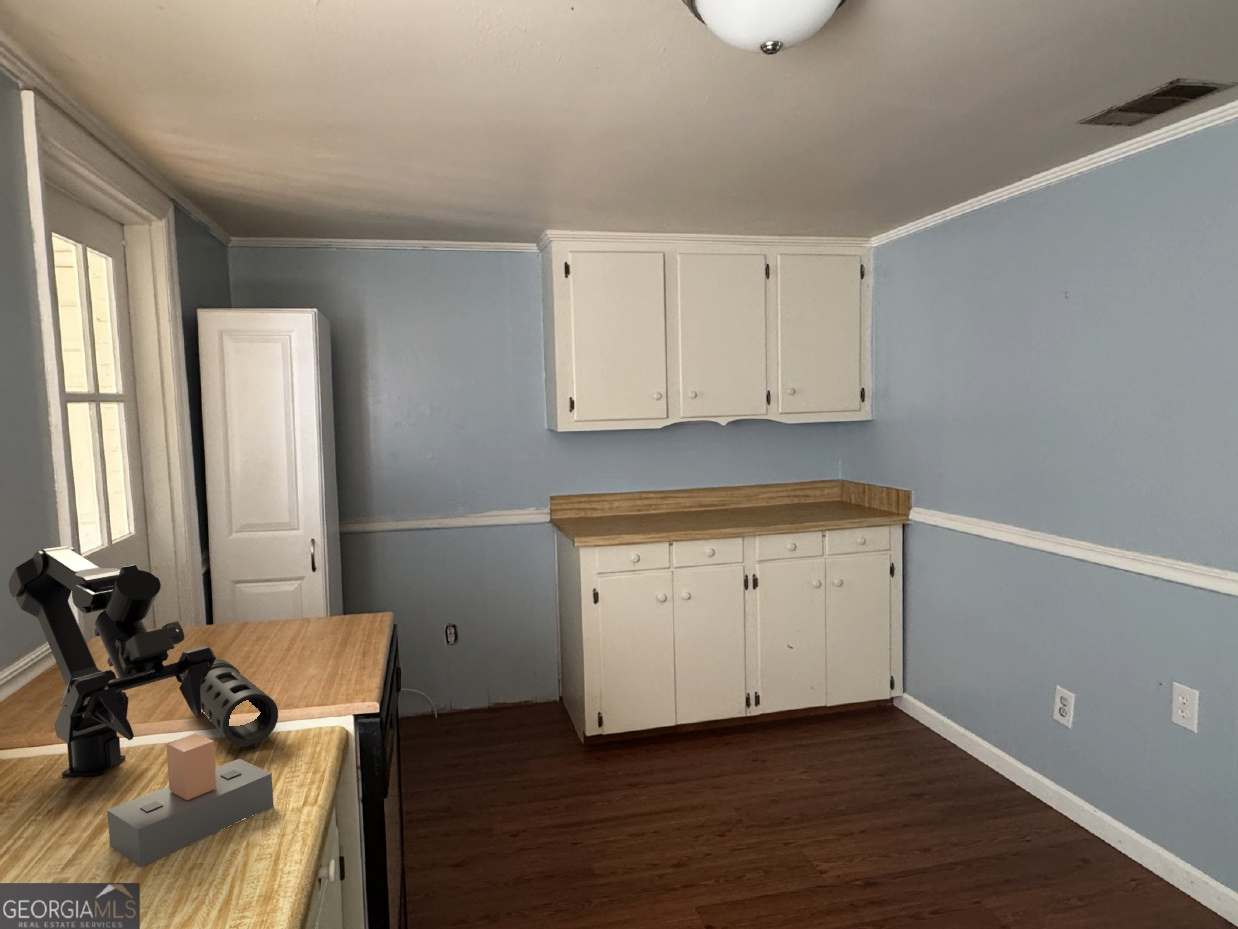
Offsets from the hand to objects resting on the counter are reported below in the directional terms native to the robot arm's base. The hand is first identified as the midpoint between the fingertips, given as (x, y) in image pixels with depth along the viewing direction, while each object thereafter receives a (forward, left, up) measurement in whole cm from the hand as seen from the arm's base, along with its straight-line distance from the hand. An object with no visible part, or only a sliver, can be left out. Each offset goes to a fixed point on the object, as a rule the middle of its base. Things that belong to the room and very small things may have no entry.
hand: (166, 727), depth 111 cm
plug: (+6, -4, -13) cm, 14 cm away
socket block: (+6, -4, -13) cm, 14 cm away
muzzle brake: (-8, +30, -13) cm, 34 cm away
